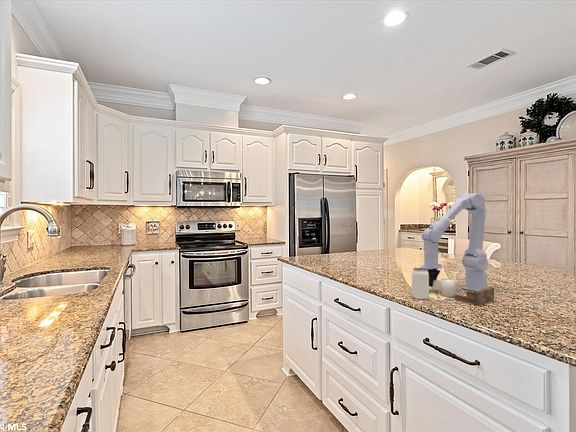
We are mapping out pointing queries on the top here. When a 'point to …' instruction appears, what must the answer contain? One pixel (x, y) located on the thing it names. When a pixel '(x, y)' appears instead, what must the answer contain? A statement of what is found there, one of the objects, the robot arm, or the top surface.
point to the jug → (446, 286)
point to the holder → (477, 296)
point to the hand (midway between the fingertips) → (431, 286)
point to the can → (420, 283)
